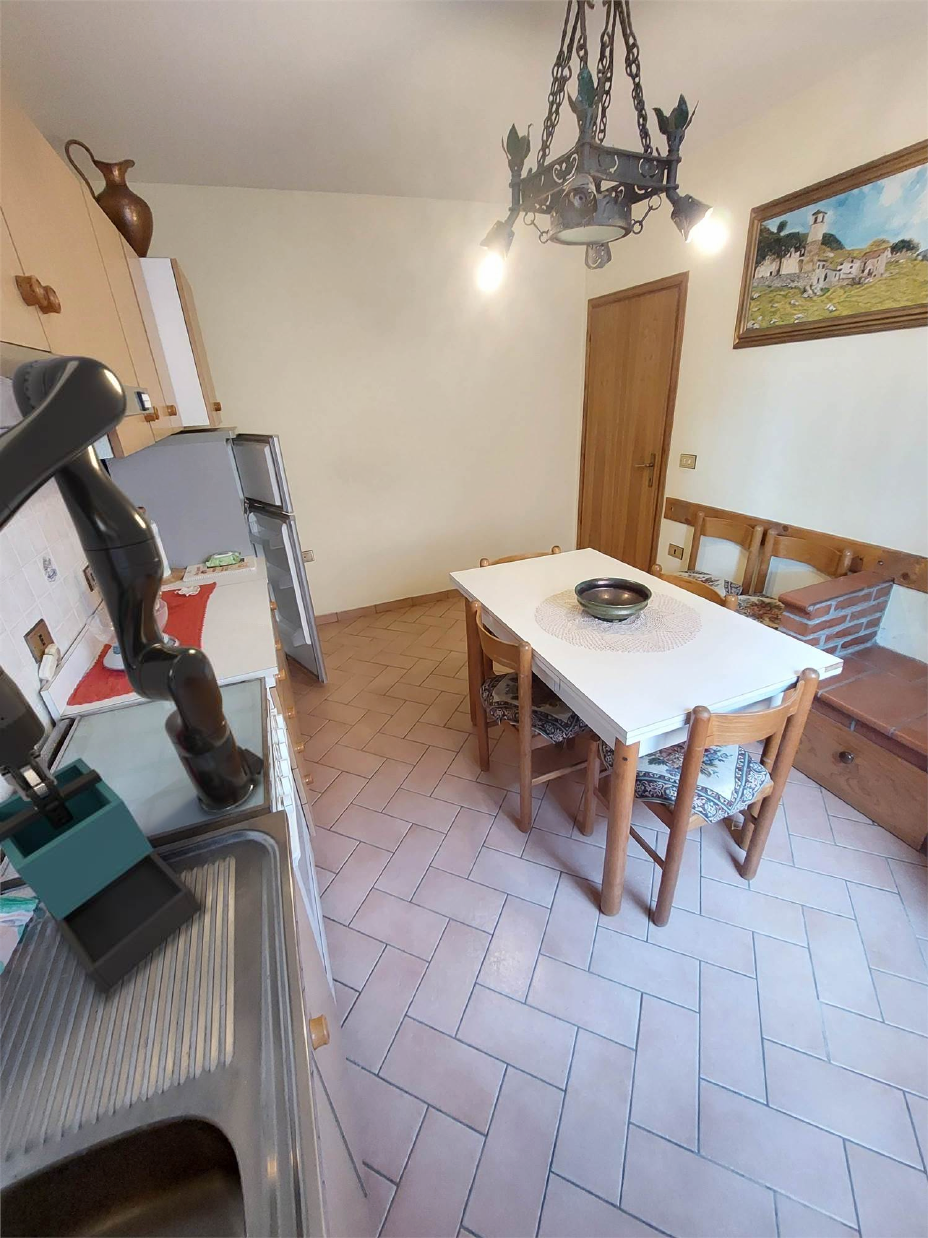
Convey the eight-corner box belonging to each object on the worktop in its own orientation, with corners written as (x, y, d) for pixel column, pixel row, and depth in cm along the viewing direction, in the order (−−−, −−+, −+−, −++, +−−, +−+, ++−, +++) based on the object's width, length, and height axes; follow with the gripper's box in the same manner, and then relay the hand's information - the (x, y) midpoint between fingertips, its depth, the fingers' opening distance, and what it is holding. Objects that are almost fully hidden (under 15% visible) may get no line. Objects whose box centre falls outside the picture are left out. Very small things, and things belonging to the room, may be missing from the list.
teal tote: (110, 805, 76) (76, 751, 70) (153, 850, 68) (118, 793, 62) (21, 862, 68) (-25, 807, 62) (58, 921, 60) (9, 864, 54)
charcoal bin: (153, 858, 84) (139, 836, 82) (203, 911, 75) (189, 888, 73) (62, 927, 75) (43, 904, 72) (107, 997, 66) (87, 974, 63)
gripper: (45, 717, 54) (113, 822, 63) (8, 681, 62) (73, 779, 70) (-42, 761, 49) (45, 868, 58) (-71, 715, 57) (10, 816, 65)
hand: (60, 819), depth 64 cm, fingers closed on teal tote
